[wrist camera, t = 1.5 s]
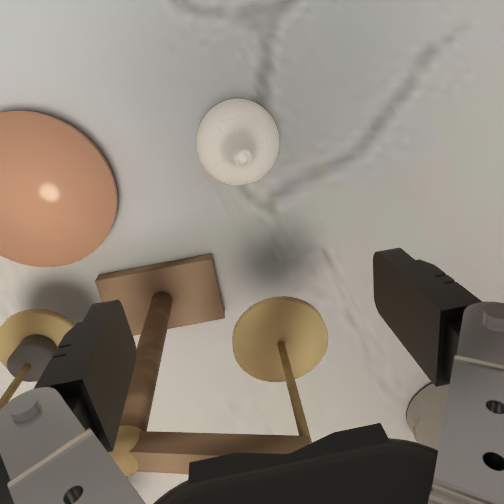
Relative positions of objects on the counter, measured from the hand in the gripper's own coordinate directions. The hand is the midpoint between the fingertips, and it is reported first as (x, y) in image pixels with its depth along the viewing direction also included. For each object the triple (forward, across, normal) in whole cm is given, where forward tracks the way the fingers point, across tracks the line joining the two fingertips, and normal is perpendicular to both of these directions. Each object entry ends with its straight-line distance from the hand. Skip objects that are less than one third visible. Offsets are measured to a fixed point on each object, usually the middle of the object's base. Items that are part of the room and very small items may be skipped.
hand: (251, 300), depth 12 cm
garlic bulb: (+21, -2, -2) cm, 21 cm away
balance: (+21, +7, +10) cm, 24 cm away
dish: (+21, +14, -1) cm, 25 cm away
